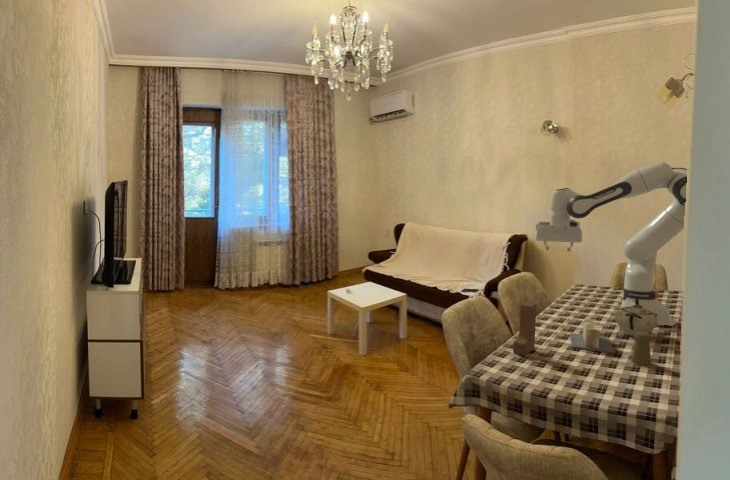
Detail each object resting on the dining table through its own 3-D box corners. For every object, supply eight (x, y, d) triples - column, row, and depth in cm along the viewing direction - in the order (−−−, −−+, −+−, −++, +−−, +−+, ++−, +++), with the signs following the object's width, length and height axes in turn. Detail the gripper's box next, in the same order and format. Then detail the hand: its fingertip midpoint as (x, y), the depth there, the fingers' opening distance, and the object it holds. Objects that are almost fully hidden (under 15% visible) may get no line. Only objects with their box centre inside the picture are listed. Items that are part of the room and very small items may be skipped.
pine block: (596, 319, 175) (599, 330, 163) (595, 336, 176) (598, 348, 164) (583, 318, 177) (586, 328, 164) (582, 334, 178) (585, 346, 165)
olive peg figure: (627, 359, 155) (629, 330, 153) (642, 358, 155) (645, 329, 154) (639, 366, 149) (641, 336, 147) (655, 365, 149) (657, 335, 148)
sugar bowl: (620, 324, 193) (622, 292, 191) (659, 331, 183) (662, 297, 181) (608, 335, 179) (611, 301, 177) (651, 344, 169) (654, 307, 167)
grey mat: (608, 339, 175) (608, 337, 175) (613, 353, 160) (613, 351, 160) (570, 334, 180) (570, 332, 180) (571, 347, 166) (572, 346, 166)
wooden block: (524, 356, 158) (526, 309, 156) (512, 352, 162) (514, 306, 159) (534, 349, 165) (536, 304, 162) (523, 346, 168) (525, 302, 165)
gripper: (535, 222, 205) (534, 250, 207) (583, 223, 197) (581, 253, 199) (536, 221, 211) (534, 248, 213) (582, 222, 203) (580, 251, 205)
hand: (557, 250), depth 206 cm, fingers open, 8 cm apart
